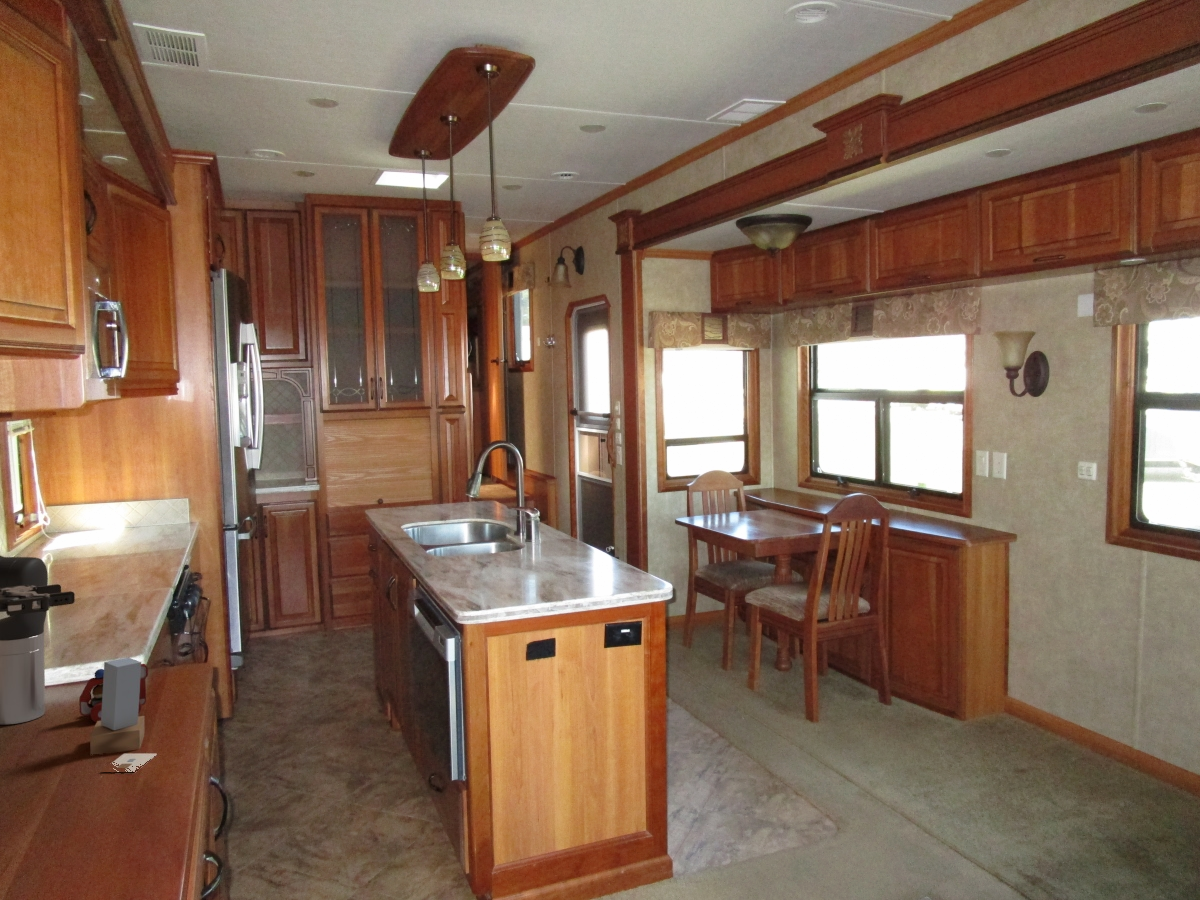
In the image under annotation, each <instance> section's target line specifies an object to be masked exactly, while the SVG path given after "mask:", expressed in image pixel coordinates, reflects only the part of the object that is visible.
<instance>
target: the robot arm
mask: <svg viewBox="0 0 1200 900" xmlns="http://www.w3.org/2000/svg"><path fill="white" fill-rule="evenodd" d="M48 574H49V573H48V568H47V565H46V563H45V562H44V560H42V559H41V558H39V557H35V556H34V557H33V556H26V557H25V556H2V555H0V613H3V612H4V613H6V615H7V617H4V618H0V725H14V724H15V725H16V724H21V723H26V722H29V721H33V720H36V719H38V718H40V717H42V716H44V714H45V713H46V700H45V699H46V697H45V696H46V686H45V685H46V683H45V682H46V681H45V678H46V677H45V676H46V674H45V669H46V668H45V622H46V617H47V612H48V611H49V610H50V609H51V608H52V607H59V606H60V607H61V606H68V605H73V604H75V601H76V600H75V599H76V598H75V597H76V595H75V592H74V591H71V590H70V591H62V585H61V584H58V583H57V584H49V582H48V581H49V575H48Z"/></svg>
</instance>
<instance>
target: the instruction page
mask: <svg viewBox="0 0 1200 900" xmlns="http://www.w3.org/2000/svg"><path fill="white" fill-rule="evenodd" d="M154 756H155V757H156V756H157V753H123V754H121V755H120V756H119V757H117V758H116V759H115V760H114V761H112V762H111V763H112V764H113V765H114V764H115V765H114V766H116V765H118V764H119V766H116V767H117V768H125V769H126V770H127V771H128V772H132V771H133V772H135V770H136V768H137V769H139V768H138V767H136V766H139V767H140V766H142V765H144V764H145V763H146V762H147V761H149V760H150V759H151V760H152V759H153V758H155V757H154ZM151 760H150V761H151ZM150 761H149V762H150ZM113 762H115V763H113ZM116 763H117V764H116ZM147 763H148V762H147ZM147 763H146V764H147ZM140 764H141V765H140ZM146 764H145V765H146ZM145 765H144V766H145ZM132 766H133V767H132ZM142 767H143V766H142ZM127 768H129V769H130V770H131V771H130V770H129V769H127ZM113 769H114V768H113ZM114 770H116V769H114ZM126 770H125V771H126ZM139 770H140V769H139ZM116 771H117V770H116ZM127 771H126V772H127ZM117 772H119V771H117ZM135 773H136V772H135Z"/></svg>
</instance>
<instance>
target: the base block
mask: <svg viewBox="0 0 1200 900" xmlns="http://www.w3.org/2000/svg"><path fill="white" fill-rule="evenodd" d="M145 733H146V731H145V715H138V724H136V725H133V726H129V727H125V728H121V729H118V730H112V729H109V728H107V727H105V726H103V725H101V721H97V723H96V722H95V725H94V728H93V730H92V731H91V734H89V735H90V736H89V740H90V742H89V743H90V746H89V747H90V752H89V753H90V756H94V755H93V754H99V755H104V754H103V753H106V754H113V753H120V752H121V753H122V752H128V751H129V752H130V751H136V750H137V751H138V750H140V749H141V747H142V743H143V740H144V736H145ZM91 754H92V755H91Z"/></svg>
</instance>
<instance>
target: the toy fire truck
mask: <svg viewBox="0 0 1200 900" xmlns="http://www.w3.org/2000/svg"><path fill="white" fill-rule="evenodd" d="M148 675H149V667H148V665H147V664H146V663H141V675H140V693H139V710H138V715H139V714H140V713H141V712H142V707H143V706H144V705H145V704H146V702H147V686H146V685H147V684H146V683H147V680H146V679H147V677H148ZM103 678H104V668H99V669H97V670H95V672H94V677H92V678H89V679H88V681H87V683H86V684H85V687H84V688H83V690H82V691H81V694H80V696H79V700H78V701H79V706H78V707H79V714H80V716H84V717H87V716H90V719H91V720H92V721H93V722H95V724H96V723H97V721H101V713H102V695H103ZM91 692H92V693H91ZM92 696H93V697H92Z"/></svg>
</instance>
